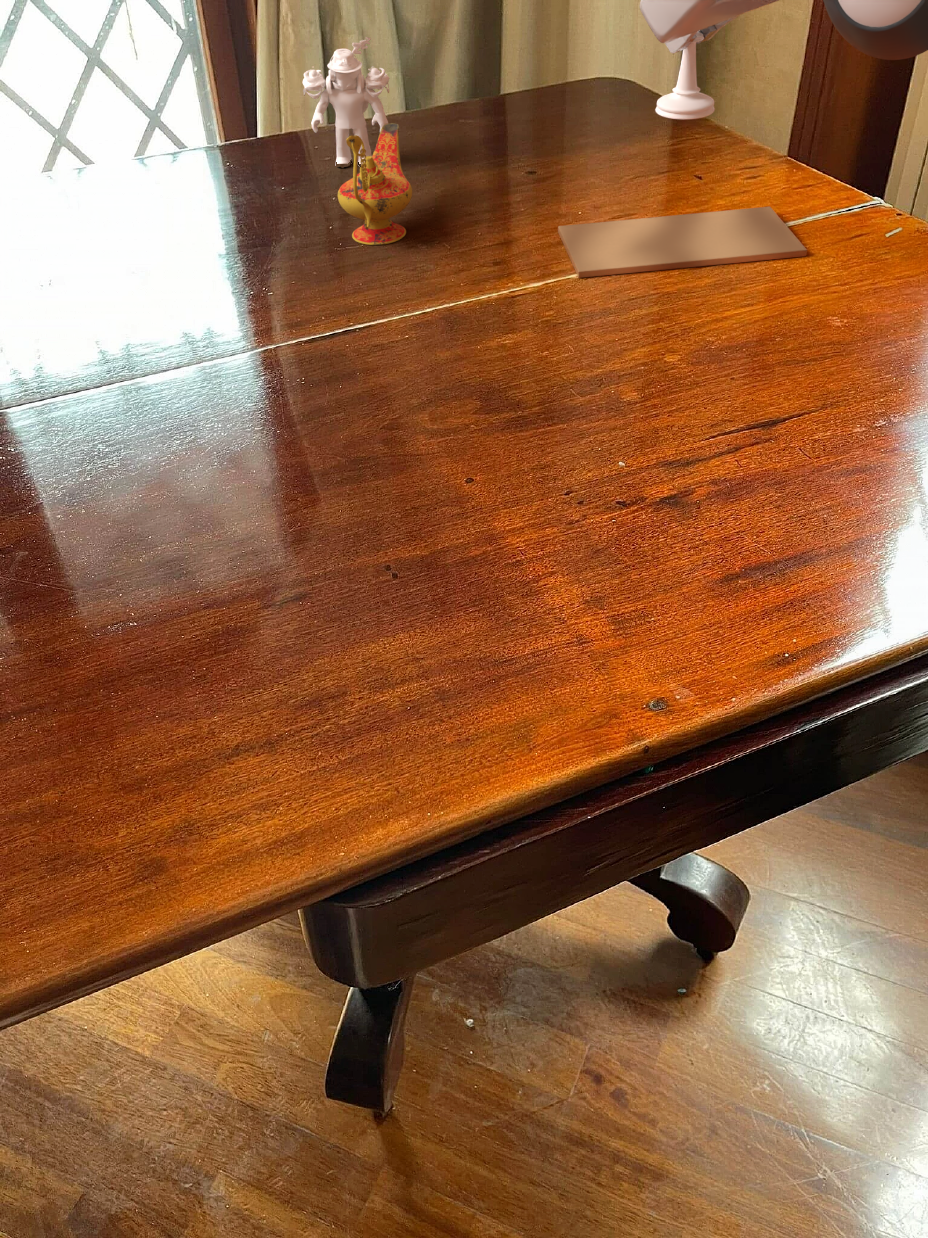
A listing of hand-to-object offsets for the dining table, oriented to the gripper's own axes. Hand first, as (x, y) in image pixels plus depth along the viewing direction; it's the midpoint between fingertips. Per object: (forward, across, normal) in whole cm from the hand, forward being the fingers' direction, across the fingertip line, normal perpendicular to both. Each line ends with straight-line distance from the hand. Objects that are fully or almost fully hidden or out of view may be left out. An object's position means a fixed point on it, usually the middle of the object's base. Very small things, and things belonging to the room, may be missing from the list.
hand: (684, 39), depth 89 cm
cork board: (+10, -2, -13) cm, 16 cm away
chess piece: (+4, 0, -4) cm, 6 cm away
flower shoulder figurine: (+38, -6, +15) cm, 41 cm away
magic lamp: (+27, -16, +4) cm, 31 cm away
